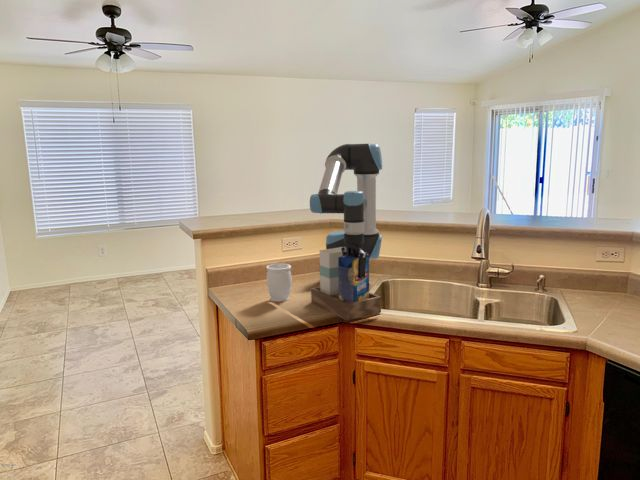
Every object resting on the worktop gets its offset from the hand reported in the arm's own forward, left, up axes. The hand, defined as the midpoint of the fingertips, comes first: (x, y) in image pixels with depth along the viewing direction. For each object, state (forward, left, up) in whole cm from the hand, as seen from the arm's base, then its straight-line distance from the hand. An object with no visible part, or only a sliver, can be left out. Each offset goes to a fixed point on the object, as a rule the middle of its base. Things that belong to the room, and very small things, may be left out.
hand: (354, 293), depth 177 cm
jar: (+16, -31, -8) cm, 36 cm away
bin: (0, -6, -8) cm, 10 cm away
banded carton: (0, -12, -7) cm, 14 cm away
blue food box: (0, 0, -7) cm, 7 cm away
